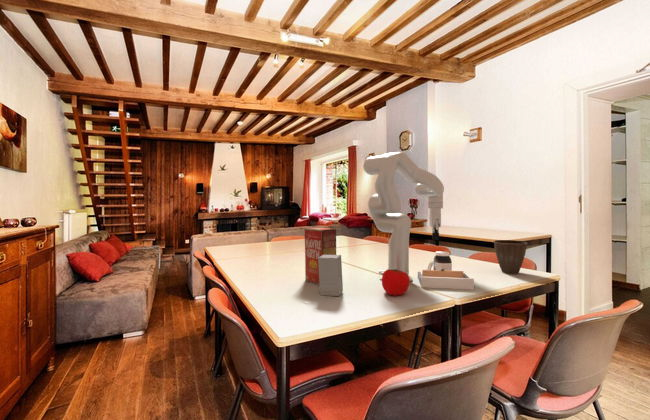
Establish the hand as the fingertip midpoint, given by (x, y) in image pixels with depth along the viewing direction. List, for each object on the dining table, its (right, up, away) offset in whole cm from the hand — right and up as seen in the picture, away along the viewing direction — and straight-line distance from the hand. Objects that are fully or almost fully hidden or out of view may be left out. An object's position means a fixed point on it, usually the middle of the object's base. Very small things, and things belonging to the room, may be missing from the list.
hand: (435, 239), depth 172 cm
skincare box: (-57, -19, -41) cm, 73 cm away
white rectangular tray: (-5, -17, -26) cm, 32 cm away
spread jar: (-2, -17, -10) cm, 20 cm away
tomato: (-31, -18, -41) cm, 54 cm away
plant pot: (+36, -17, -6) cm, 40 cm away
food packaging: (-61, -18, -21) cm, 67 cm away
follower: (-5, -17, -23) cm, 29 cm away
